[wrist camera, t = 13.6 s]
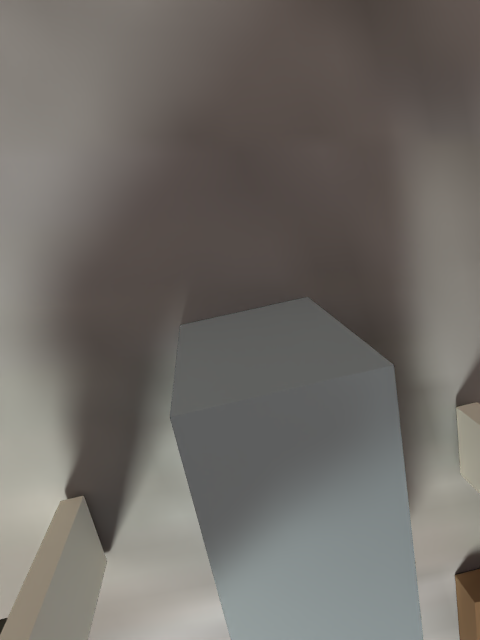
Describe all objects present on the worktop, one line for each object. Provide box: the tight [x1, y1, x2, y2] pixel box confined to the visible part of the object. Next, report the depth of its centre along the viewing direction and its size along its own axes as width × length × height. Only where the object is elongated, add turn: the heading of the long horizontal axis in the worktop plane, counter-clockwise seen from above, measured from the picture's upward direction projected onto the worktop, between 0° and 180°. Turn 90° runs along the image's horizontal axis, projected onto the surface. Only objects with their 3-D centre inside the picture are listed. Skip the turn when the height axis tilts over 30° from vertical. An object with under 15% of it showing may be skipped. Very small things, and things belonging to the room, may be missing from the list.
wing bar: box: [170, 297, 423, 640], centre depth 12 cm, size 4×12×6 cm, turn 11°
